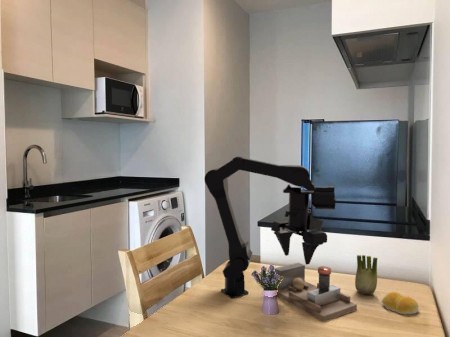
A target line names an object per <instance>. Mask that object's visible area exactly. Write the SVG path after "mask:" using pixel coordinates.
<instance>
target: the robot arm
mask: <svg viewBox="0 0 450 337" xmlns="http://www.w3.org/2000/svg"><path fill="white" fill-rule="evenodd" d="M238 171H244V172H249V173H251V174H258V175H263V176H268V177H271V178H272V177H273V178H276V179H279V180H282V181H283V182H285V183H287V186H286V187H285V188H283V189H282V193H284V194H288V210H285V215H287V217H288V220H287V219H282V220H276V221H273V222H272V223H271V225H270V226H271V229H270V230H271V231H272V232H273V234H274V235H275V236H276V238H277V241H278V243H279V244H280V246H281V247H280V248H281V250H282V251H283V254H284V256H285V257H286V256H289V254H290V246H291V245H290V244H291V237H292V236H293V234H295V235H298V236H300V237H302V241H303V242H301V246H302V252H303V257H304V263H305V265H310V263H311V260H312V258H313V256H314V255H315V251H316V250H317V248H318V247H319V246H321V245H323V244H325V243H328V235H327V233H326V232H325V231H323V230H322V228H323V223H324V220H321V219H318V218H315V217H313V213H312V212H311V211H309V200H310V206H311V207H312V206H313V209H314V210H326V211H329V210H330V211H335V209H336V196H335V195H336V194H335V187H334V186H329V185H328V186H315V183H314V182H313V181H312V180H311V175H310V172H309V169H308V168H306V167H305V166H304V165H298V164H297V165H293V164H285V165H284V164H281V165H280V164H275V163H270V162H266V161H261V160H258V159H257V160H256V159H252V158H247V157H246V158H245V157H243V156H241V155H238V156H235V157H233V158H232V160H230V161H229V162H227V163H225V164H224V165H222V166H221V167H219V168H218V167H217V168H213V169H210V170H208V171H207V173H205V175H204V183H205V185H206V187H207V189H208V192H209V193H210V194H211V195H212V198H214V200H215V203H216V206H217V209H218V213H219V216H220V219H221V223H222V227H223V229H224V233H225V236H226V240H227V243H228V260H229V261H228V262H227V263H226V264H225V267H224V268H223V270H222V273H223V277H224V288H220V292H222V293H223V294H225V295H226V296H227V297H228V298H231V299H234V298H237V297H240V296H245V295H248V294H249V291H248V290H247V289H245V286H246V285H245V284H246V283H245V274H244V272H246V270H248V268H249V266H250V263H251V260H252V255H253V252H252V250H251V247H250V242H249V241H247V242H245V241H244V240H243V238H242V236H241V232H240V229H239V226H238V224H237V220H236V217H235V212H234V209H233V206H232V203H231V200H230V197H229V179H228V178H230V177H231V176H232V175H234V174H235V173H237V172H238ZM293 186H294V187H293ZM302 187H303V188H304V189H305V190H302ZM309 196H310V197H309Z"/></svg>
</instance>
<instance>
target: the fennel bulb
mask: <svg viewBox="0 0 450 337" xmlns="http://www.w3.org/2000/svg"><path fill="white" fill-rule="evenodd" d="M356 261H357V262H356V266H357V267H356V274H355V279H354V281H355V282H354V285H355V289H356V291H357V292H359V293H360V294H362V295H366V296H367V295H371V296H372V295H373V294H375V291H376V290H377V285H378V257H375V256H374V257H372V256H371V255H367V256H366V255H364V254H361V255H360V254H357V255H356Z"/></svg>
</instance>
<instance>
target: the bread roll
mask: <svg viewBox="0 0 450 337" xmlns="http://www.w3.org/2000/svg"><path fill="white" fill-rule="evenodd" d="M381 302H382V305H383V306H384V307H385V308H386V309H388V310H390V311H393V312H396V313H398V314H401V315H414V314H416V313H418V311H419V304H418V302H417V300H416V299H414V298H413V297H410V296H404V295H402V294H401V293H399V292H396V291H392V292H391V291H390V292H389V293H386V294H385V296H384V297H382V299H381Z"/></svg>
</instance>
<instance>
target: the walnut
mask: <svg viewBox="0 0 450 337" xmlns="http://www.w3.org/2000/svg"><path fill="white" fill-rule="evenodd" d="M293 287H294V288H295V289H297V290H301V289H303V287H304V281H303V280H302V279H301V278H295V279H294V280H293Z"/></svg>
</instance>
